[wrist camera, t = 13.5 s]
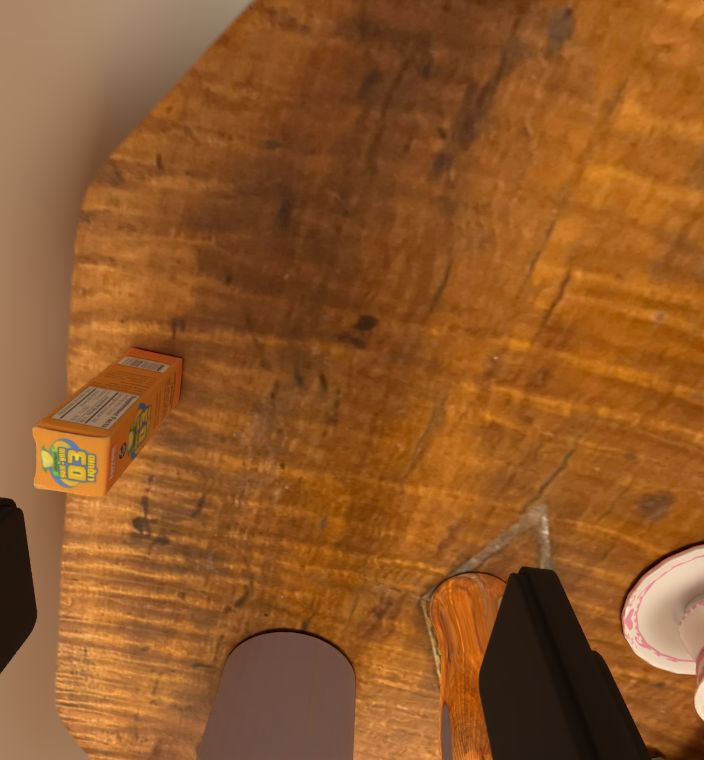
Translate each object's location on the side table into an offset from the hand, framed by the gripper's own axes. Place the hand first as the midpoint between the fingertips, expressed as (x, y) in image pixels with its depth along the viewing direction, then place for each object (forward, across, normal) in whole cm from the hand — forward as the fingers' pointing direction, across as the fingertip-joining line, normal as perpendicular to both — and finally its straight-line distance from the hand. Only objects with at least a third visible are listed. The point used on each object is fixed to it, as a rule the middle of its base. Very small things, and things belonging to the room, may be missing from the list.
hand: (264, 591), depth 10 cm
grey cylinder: (+21, 0, +29) cm, 36 cm away
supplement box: (+20, +10, +5) cm, 23 cm away
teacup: (+21, -28, +17) cm, 39 cm away
